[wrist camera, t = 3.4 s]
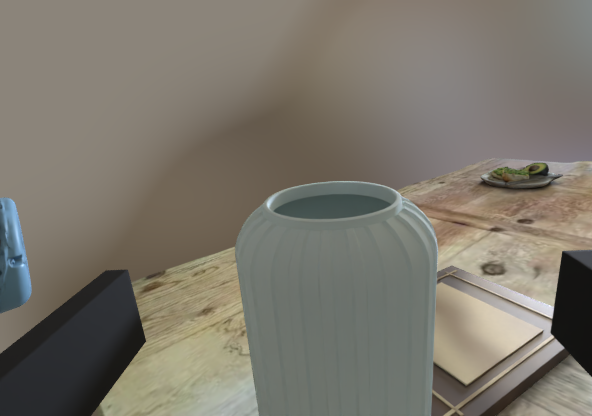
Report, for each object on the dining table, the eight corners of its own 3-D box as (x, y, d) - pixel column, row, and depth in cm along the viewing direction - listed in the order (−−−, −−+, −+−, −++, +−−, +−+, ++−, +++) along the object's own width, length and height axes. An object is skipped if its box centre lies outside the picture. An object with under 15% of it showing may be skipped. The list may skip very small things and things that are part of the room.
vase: (238, 505, 25) (183, 216, 19) (320, 394, 34) (303, 170, 28) (392, 630, 19) (392, 257, 12) (444, 453, 28) (461, 180, 21)
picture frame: (450, 453, 28) (451, 436, 27) (321, 334, 43) (321, 322, 42) (593, 335, 39) (595, 322, 38) (451, 274, 54) (451, 264, 53)
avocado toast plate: (543, 195, 85) (545, 177, 84) (468, 186, 98) (469, 170, 97) (565, 179, 97) (568, 162, 96) (496, 172, 110) (497, 158, 109)
